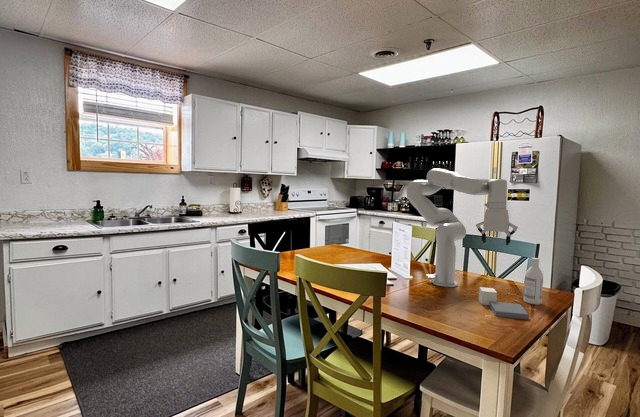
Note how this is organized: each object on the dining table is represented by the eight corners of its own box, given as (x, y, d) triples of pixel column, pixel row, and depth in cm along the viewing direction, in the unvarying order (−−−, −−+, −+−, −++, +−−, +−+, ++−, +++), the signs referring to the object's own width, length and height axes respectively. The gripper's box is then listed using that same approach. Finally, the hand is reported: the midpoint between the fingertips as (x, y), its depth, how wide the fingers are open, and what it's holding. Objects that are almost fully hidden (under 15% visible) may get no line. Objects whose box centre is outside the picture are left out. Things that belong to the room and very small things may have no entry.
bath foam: (535, 299, 164) (538, 256, 162) (544, 305, 157) (548, 260, 155) (520, 299, 164) (523, 256, 162) (528, 304, 157) (532, 260, 155)
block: (481, 304, 157) (482, 291, 156) (478, 299, 162) (479, 287, 162) (496, 305, 155) (497, 292, 155) (493, 301, 161) (493, 288, 160)
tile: (495, 315, 143) (495, 311, 143) (489, 305, 155) (489, 301, 155) (528, 319, 140) (529, 314, 140) (519, 308, 152) (520, 304, 152)
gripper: (474, 206, 165) (473, 242, 166) (517, 207, 155) (515, 246, 156) (478, 205, 171) (477, 240, 172) (519, 206, 161) (518, 244, 162)
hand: (495, 243), depth 164 cm, fingers open, 9 cm apart
